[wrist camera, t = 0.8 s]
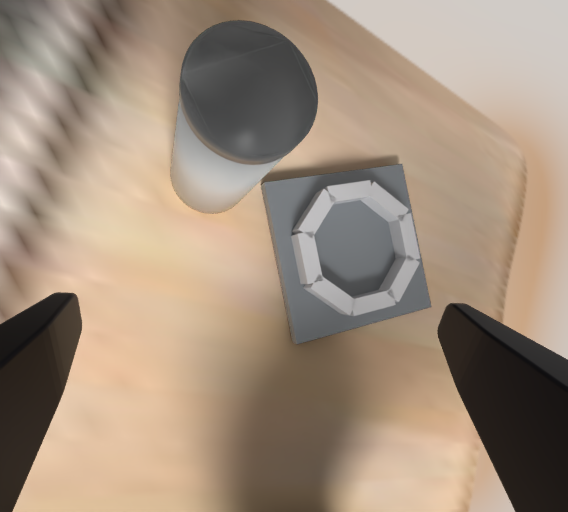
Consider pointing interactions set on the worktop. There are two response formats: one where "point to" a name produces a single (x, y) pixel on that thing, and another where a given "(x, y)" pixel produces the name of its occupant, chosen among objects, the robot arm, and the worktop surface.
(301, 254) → the ring socket board
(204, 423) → the worktop surface
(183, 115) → the canister
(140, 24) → the worktop surface
